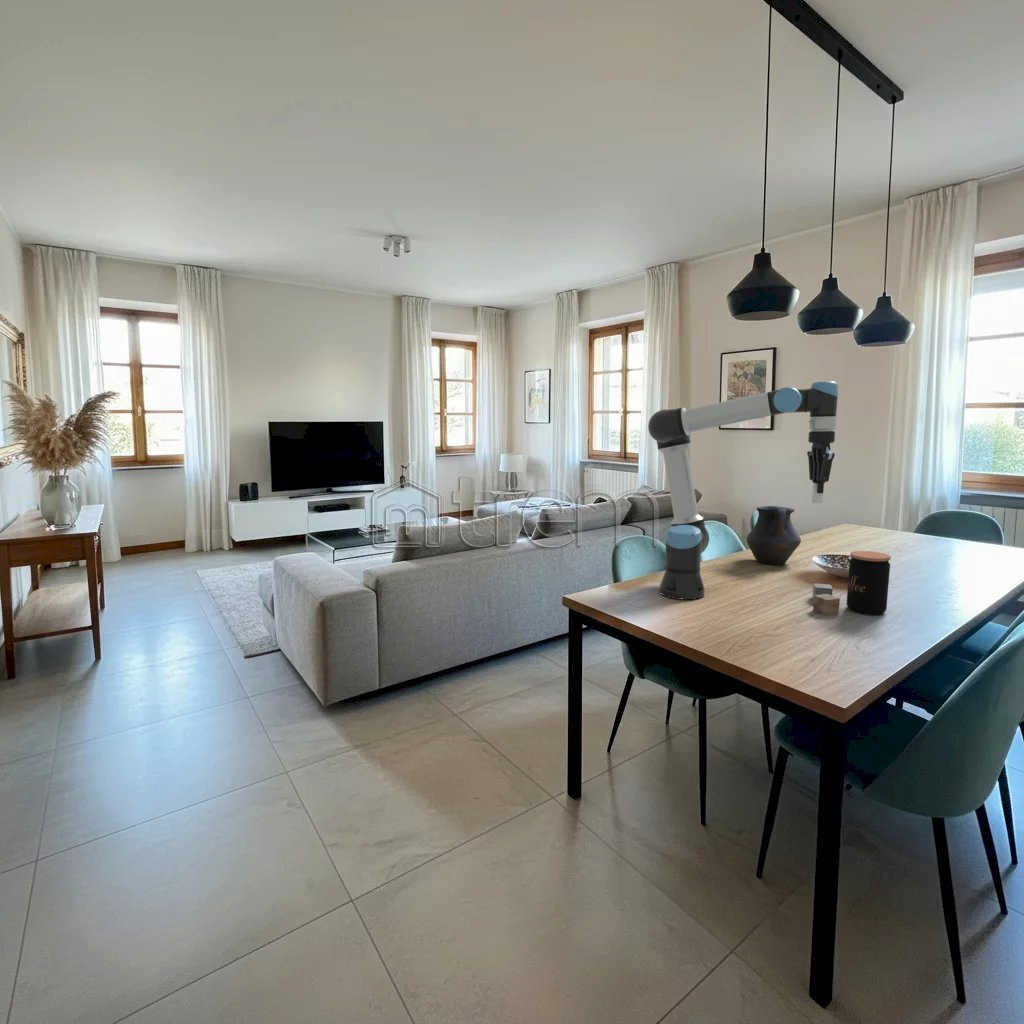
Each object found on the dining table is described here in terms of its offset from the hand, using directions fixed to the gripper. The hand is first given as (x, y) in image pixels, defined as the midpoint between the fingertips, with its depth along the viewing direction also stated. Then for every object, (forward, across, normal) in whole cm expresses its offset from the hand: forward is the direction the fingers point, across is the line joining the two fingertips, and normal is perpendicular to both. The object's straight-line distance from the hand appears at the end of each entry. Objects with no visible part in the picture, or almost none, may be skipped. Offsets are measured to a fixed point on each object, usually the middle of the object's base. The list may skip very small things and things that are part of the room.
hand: (817, 502), depth 188 cm
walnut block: (+33, +15, -3) cm, 36 cm away
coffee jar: (+33, +14, +10) cm, 37 cm away
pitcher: (+33, -49, +8) cm, 59 cm away
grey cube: (+33, +3, +2) cm, 33 cm away
